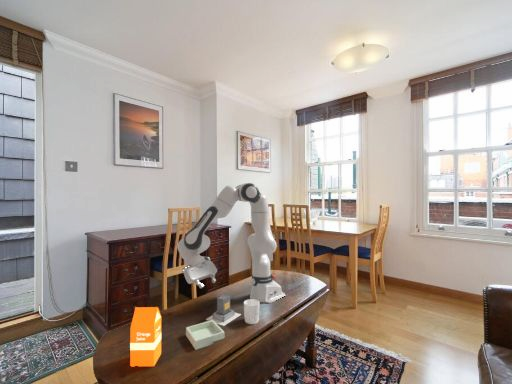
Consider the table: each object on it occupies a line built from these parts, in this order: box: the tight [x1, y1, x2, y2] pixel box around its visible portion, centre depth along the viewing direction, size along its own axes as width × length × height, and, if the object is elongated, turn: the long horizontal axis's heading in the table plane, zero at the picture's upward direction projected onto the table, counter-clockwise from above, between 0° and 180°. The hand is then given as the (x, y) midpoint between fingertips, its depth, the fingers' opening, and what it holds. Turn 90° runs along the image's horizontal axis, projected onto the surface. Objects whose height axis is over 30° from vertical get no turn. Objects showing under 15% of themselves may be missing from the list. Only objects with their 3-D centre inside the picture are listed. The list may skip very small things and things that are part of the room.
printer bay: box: [205, 308, 242, 327], centre depth 130 cm, size 14×12×4 cm
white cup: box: [243, 298, 261, 325], centre depth 127 cm, size 8×8×10 cm
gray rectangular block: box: [216, 294, 231, 316], centre depth 130 cm, size 6×4×10 cm
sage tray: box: [185, 320, 226, 351], centre depth 113 cm, size 13×13×4 cm
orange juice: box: [129, 306, 162, 368], centre depth 98 cm, size 8×9×20 cm
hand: (208, 284), depth 136 cm, fingers open, 8 cm apart
